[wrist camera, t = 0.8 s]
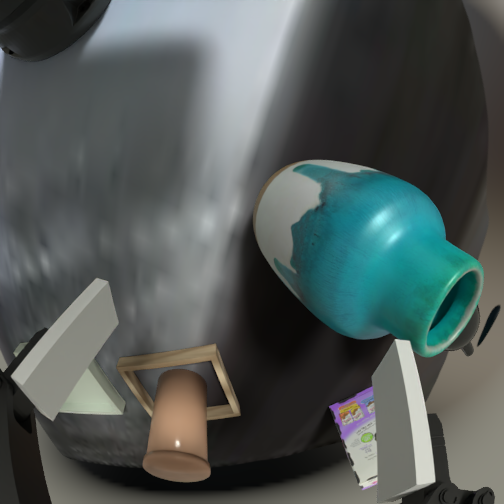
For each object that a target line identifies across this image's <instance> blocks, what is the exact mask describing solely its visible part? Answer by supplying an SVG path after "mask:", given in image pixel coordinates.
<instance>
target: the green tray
mask: <svg viewBox="0 0 504 504" xmlns="http://www.w3.org/2000/svg"><path fill="white" fill-rule="evenodd" d="M28 343H29V342H28ZM26 344H27V343H20V344H19V345H18V347H17V348H16V350H15V351H14V355H15V356H17V355H18V354H19V353H20V352H21V350H22V349H24V347H25V346H26ZM125 403H126V402H125V401H124V400H123V398H122V397H121V396H120V394H119V393H118V392H117V390H116V389H115V388H114V386H113V385H112V383H111V382H110V381H109V379H108V378H107V376H106V375H105V373H104V372H103V370H102V369H101V367H100V366H99V364H98V363H97V361H96V360H95V358H94V359H93V360H92V362H91V363H90V365H89V366H88V368H87V369H86V371H85V372H84V374H83V375H82V377H81V378H80V380H79V381H78V383H77V384H76V386H75V387H74V389H73V390H72V392H71V393H70V395H69V396H68V398H67V399H66V401H65V403H64V404H63V406H62V407H61V409H60V410H59V412H65V413H80V414H123V412H124V407H125Z"/></svg>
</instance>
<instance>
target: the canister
mask: <svg viewBox="0 0 504 504" xmlns="http://www.w3.org/2000/svg"><path fill="white" fill-rule="evenodd" d="M143 468H144V469H145V470H146V471H147V472H149V473H150V474H152V475H154V476H157V477H160V478H162V479H166V480H171V481H178V482H195V481H200V480H204V479H206V478H208V477H209V476H210V464H209V463H208V462H207V384H206V381H205V380H204V379H203V378H202V377H201V376H200V375H199V374H197V373H195V372H192V371H189V370H185V369H172V370H168V371H166V372H164V373H162V374H161V375H160V377H159V379H158V384H157V390H156V395H155V401H154V407H153V413H152V420H151V426H150V433H149V440H148V448H147V454H145V456H144V458H143Z"/></svg>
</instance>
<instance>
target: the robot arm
mask: <svg viewBox="0 0 504 504" xmlns="http://www.w3.org/2000/svg"><path fill="white" fill-rule="evenodd" d="M109 2H110V0H0V48H2V50H3V51H4V52H5V53H6V54H7V55H9V56H10V57H12V58H15V59H19V60H23V61H29V62H33V61H40V60H43V59H46V58H49V57H51V56H53V55H55V54H57V53H59V52H61V51H62V50H64V49H66V48H67V47H68V46H70V45H71V44H72V43H74V42H75V41H76V40H77V39H79V38H80V37H81V36H82V35H83V34H84V33H85V32H86V31H87V30H88V29H89V28H90V27H91V26H92V25H93V24H94V23H95V22H96V20H97V19H98V18H99V17H100V15H101V14H102V13H103V11H104V10H105V8H106V7H107V5H108V3H109ZM118 324H119V322H118V318H117V314H116V310H115V307H114V303H113V298H112V294H111V290H110V286H109V281H105V280H102V279H98V278H96V279H95V280H94V281H93V282H92V283H91V284H90V285H89V286H88V287H87V288H86V289H85V290H84V291H83V292H82V293H81V294H80V295H79V297H78V298H77V299H76V300H75V301H74V302H73V303H72V304H71V305H70V306H69V307H68V308H67V309H66V311H65V312H64V313H63V314H62V315H61V316H60V317H59V318H58V319H57V321H56V322H55V323H54V324H53V325H52V326H51V327H50V329H47V328H44V329H42V330H40V331H39V332H37V333H36V334H35V335H34V336H33V337H32V338H31V340H30V341H29V343H27V344H26V346H25V347H24V349H22V350H21V352H20V353H19V354H18V355H17V356H16V358H15V359H14V360H13V361H12V363H11V364H10V365H9V367H8V368H7V369H6V370H5V371H4V372H2V371H1V369H0V504H52V503H51V500H50V496H49V493H48V488H47V484H46V480H45V476H44V471H43V466H42V462H41V456H40V450H39V444H38V437H37V429H36V420H35V413H34V410H33V409H34V407H36V408H37V409H38V410H39V411H40V413H42V414H43V415H45V416H46V417H47V418H49V419H50V420H52V421H53V420H54V419H55V417H56V415H57V414H58V412H59V410H60V409H61V407H62V406H63V404H64V403H65V401H66V399H67V398H68V396H69V395H70V393H71V392H72V390H73V389H74V387H75V386H76V384H77V383H78V381H79V380H80V378H81V377H82V375H83V374H84V372H85V371H86V369H87V368H88V366H89V365H90V363H91V362H92V360H93V359H94V357H95V356H96V355H97V353H98V352H99V350H100V349H101V347H102V346H103V345H104V343H105V342H106V340H107V339H108V338H109V336H110V335H111V333H112V332H113V331H114V329H115V328H116V327H117V325H118ZM372 384H373V394H374V406H375V419H376V437H377V503H384V502H393V501H396V500H398V499H401V498H402V503H400V504H494V499H495V496H494V492H493V491H492V489H490V488H489V487H483V488H481V489H479V490H477V491H468V490H460V489H458V487H457V486H456V485H455V484H453V483H451V481H450V477H449V469H448V461H447V453H446V447H445V446H444V445H445V440H444V437H443V435H444V434H443V429H442V424H441V422H440V420H439V418H438V417H437V415H436V414H427V413H426V408H425V403H424V398H423V393H422V388H421V384H420V379H419V375H418V371H417V367H416V363H415V359H414V355H413V351H412V347H411V344H410V341H407V340H398V339H395V340H394V342H393V344H392V345H391V347H390V349H389V350H388V352H387V354H386V355H385V357H384V358H383V360H382V362H381V363H380V365H379V366H378V368H377V369H376V371H375V372H374V374H373V375H372Z"/></svg>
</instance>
